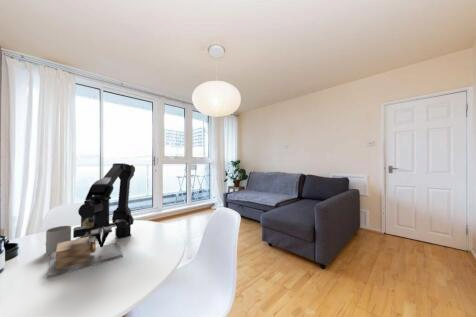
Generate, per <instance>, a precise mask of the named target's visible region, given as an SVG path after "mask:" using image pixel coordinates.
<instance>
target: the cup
mask: <svg viewBox="0 0 476 317" xmlns="http://www.w3.org/2000/svg"><path fill="white" fill-rule="evenodd" d="M45 233H46V234H45V254H46V255H47V256H51V253H54V252H56V249H57V243H61V242H66V241H71V240H72V226H71V225H62V226H61V225H60V226H55V227H51V228H48V229H47V230H46V232H45Z"/></svg>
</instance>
